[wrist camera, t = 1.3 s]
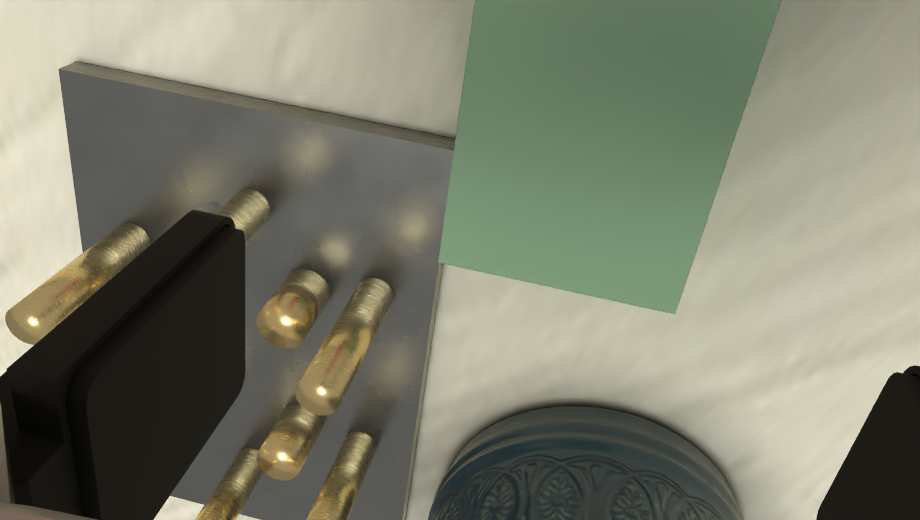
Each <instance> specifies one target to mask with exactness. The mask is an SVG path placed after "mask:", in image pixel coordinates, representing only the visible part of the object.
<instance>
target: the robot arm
mask: <svg viewBox="0 0 920 520" xmlns="http://www.w3.org/2000/svg"><path fill="white" fill-rule="evenodd" d="M245 371H246V364H245V235H244V232H243V231H242V230H240V229H236V228H235V224H234V221H233V220H232V219H231V218H230V217H226V216H221V215H217V214H212V213H207V212H203V211H198V210H192V211H190V212H188V213H187V214H186V215H185V216H183V217H182V218H181V219H180V220H179V221H178V222H177V223H175V224H174V225H173V226H172V227H171V228H170V229H168V230H167V231H166V232H165V233H164V234H163V235H161V236H160V237H159V238H158V239H157V240H156V241H155V242H153V243H152V244H151V245H150V246H149V247H148V248H146V249H145V250H144V251H143V252H142V253H141V254H139V255H138V256H137V257H136V258H135V259H134V260H132V261H131V262H130V263H129V264H128V265H127V266H126V267H124V268H123V269H122V270H121V271H120V272H119V273H117V274H116V275H115V276H114V277H113V278H112V279H110V280H109V281H108V282H107V283H106V284H105V285H103V286H102V287H101V288H100V289H99V290H98V291H97V292H95V293H94V294H93V295H92V296H91V297H90V298H88V299H87V300H86V301H85V302H84V303H83V304H81V305H80V306H79V307H78V308H77V309H76V310H75V311H73V312H72V313H71V314H70V315H69V316H68V317H66V318H65V319H64V320H63V321H62V322H61V323H59V324H58V325H57V326H56V327H55V328H54V329H52V330H51V331H50V332H49V333H48V334H47V335H46V336H44V337H43V338H42V339H41V340H40V341H39V342H37V343H36V344H35V345H34V346H33V347H32V348H30V349H29V350H28V351H27V352H26V353H25V354H24V355H22V356H21V357H20V358H19V359H18V360H17V361H15V362H14V363H13V364H12V365H11V366H10V367H8V368H7V371H6V372H5V373H4V374H3V375H2V376H1V377H0V520H153V519H154V518H155V516H156V515H157V513H158V512H159V511H160V509H161V508H162V506H163V505H164V503H165V502H166V500H167V499H168V497H169V496H170V495H171V493H172V492H173V490H174V489H175V487H176V486H177V484H178V483H179V481H180V480H181V479H182V477H183V476H184V474H185V473H186V471H187V470H188V468H189V467H190V465H191V464H192V463H193V461H194V460H195V458H196V457H197V455H198V454H199V452H200V451H201V449H202V448H203V447H204V445H205V444H206V442H207V441H208V439H209V438H210V436H211V435H212V433H213V432H214V431H215V429H216V428H217V426H218V425H219V423H220V422H221V420H222V419H223V418H224V416H225V415H226V413H227V412H228V410H229V409H230V407H231V406H232V404H233V403H234V402H235V400H236V399H237V397H238V395H239V394H240V392H241V389H242V387H243V383H244V379H245ZM817 520H920V366H911V367H909V368H908V369H907V370H905V371H904V373H898V372H897V373H894V374H892V375H891V376H890V377H889V379H888V380H887V382H886V384H885V386H884V388H883V389H882V391H881V393H880V395H879V397H878V399H877V401H876V403H875V404H874V406H873V408H872V410H871V412H870V414H869V416H868V418H867V419H866V421H865V423H864V425H863V427H862V429H861V431H860V432H859V434H858V436H857V438H856V440H855V442H854V444H853V446H852V447H851V449H850V451H849V453H848V455H847V457H846V459H845V461H844V462H843V464H842V466H841V468H840V470H839V472H838V474H837V476H836V477H835V479H834V481H833V483H832V485H831V487H830V489H829V491H828V492H827V494H826V496H825V498H824V500H823V502H822V504H821V505H820V508H819V510H818V514H817Z"/></svg>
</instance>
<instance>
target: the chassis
mask: <svg viewBox="0 0 920 520" xmlns="http://www.w3.org/2000/svg"><path fill="white" fill-rule="evenodd" d="M59 75H60V82H61V90H62V98H63V105H64V113H65V120H66V128H67V136H68V143H69V151H70V158H71V166H72V174H73V181H74V189H75V196H76V204H77V212H78V219H79V227H80V234H81V242H82V249H83V253H82V254H81V255H80V256H79V257H77V258H76V259H75V260H73V261H72V262H71V263H69V264H68V265H67V266H66V267H64V268H63V269H62V270H60V271H59V272H58V273H56V274H55V275H54V276H52V277H51V278H50V279H49V280H47V281H46V282H45V283H43V284H42V285H41V286H39V287H38V288H37V289H36V290H34V291H33V292H32V293H30V294H29V295H28V296H26V297H25V298H24V299H23V300H21V301H20V302H19V303H17V304H16V305H15V306H13V307H12V308H11V309H10V310H8V312H7V313H6V317H5V319H6V324H7V326H8V328H9V330H10V331H11V332H12V334H13V335H14V336H16V337H17V338H18V339H20V340H21V341H23V342H25V343H28V344H33V345H35V344H36V343H37V342H39V341H40V340H41V339H42V338H43V337H44V336H46V335H47V334H48V333H49V332H50V331H51V330H52V329H54V328H55V327H56V326H57V325H58V324H59V323H61V322H62V321H63V320H64V319H65V318H66V317H68V316H69V315H70V314H71V313H72V312H73V311H75V310H76V309H77V308H78V307H79V306H80V305H81V304H83V303H84V302H85V301H86V300H87V299H88V298H90V297H91V296H92V295H93V294H94V293H95V292H97V291H98V290H99V289H100V288H101V287H102V286H103V285H105V284H106V283H107V282H108V281H109V280H110V279H112V278H113V277H114V276H115V275H116V274H117V273H119V272H120V271H121V270H122V269H123V268H124V267H126V266H127V265H128V264H129V263H130V262H131V261H132V260H134V259H135V258H136V257H137V256H138V255H139V254H141V253H142V252H143V251H144V250H145V249H146V248H148V247H149V246H150V245H151V244H152V243H153V242H155V241H156V240H157V239H158V238H159V237H160V236H161V235H163V234H164V233H165V232H166V231H167V230H168V229H170V228H171V227H172V226H173V225H174V224H175V223H177V222H178V221H179V220H180V219H181V218H182V217H183V216H185V215H186V214H187V213H188V212H190V211H192V210H198V211H203V212H207V213H212V214H217V215H221V216H226V217H230V218H231V219H232V220H233V221H234V224H235V228H236V229H240V230H242V231H243V232H244V235H245V364H246V371H245V379H244V383H243V387H242V389H241V392H240V394H239V395H238V397H237V399H236V400H235V402H234V403H233V404H232V406H231V407H230V409H229V410H228V412H227V413H226V415H225V416H224V418H223V419H222V420H221V422H220V423H219V425H218V426H217V428H216V429H215V431H214V432H213V433H212V435H211V436H210V438H209V439H208V441H207V442H206V444H205V445H204V447H203V448H202V449H201V451H200V452H199V454H198V455H197V457H196V458H195V460H194V461H193V463H192V464H191V465H190V467H189V468H188V470H187V471H186V473H185V474H184V476H183V477H182V479H181V480H180V481H179V483H178V484H177V486H176V487H175V489H174V490H173V492H172V493H171V495H170V496H173V497H177V498H181V499H185V500H189V501H192V502H196V503H200V504H204V507H203V508H202V510H201V512H200V513H199V515H198V516H197V518H196V519H195V520H236V519H237V517H238V516H239V514H242V515H246V516H249V517H253V518H257V519H261V520H405V519H406V512H407V505H408V499H409V492H410V485H411V478H412V471H413V465H414V458H415V451H416V444H417V437H418V431H419V424H420V417H421V410H422V403H423V397H424V390H425V383H426V376H427V370H428V363H429V356H430V349H431V342H432V336H433V329H434V322H435V315H436V308H437V302H438V295H439V288H440V281H441V274H442V268H443V263H439V262H438V261H439V254H440V247H441V239H442V232H443V225H444V218H445V211H446V204H447V197H448V189H449V182H450V175H451V168H452V161H453V154H454V147H455V139H452V138H448V137H443V136H438V135H433V134H428V133H423V132H418V131H413V130H409V129H404V128H399V127H394V126H389V125H384V124H379V123H374V122H370V121H365V120H360V119H355V118H350V117H345V116H340V115H335V114H331V113H326V112H321V111H316V110H311V109H306V108H301V107H296V106H292V105H287V104H282V103H277V102H272V101H267V100H262V99H257V98H253V97H248V96H243V95H238V94H233V93H228V92H223V91H218V90H214V89H209V88H204V87H199V86H194V85H189V84H184V83H179V82H175V81H170V80H165V79H160V78H155V77H150V76H145V75H140V74H136V73H131V72H126V71H121V70H116V69H111V68H106V67H101V66H97V65H92V64H87V63H82V62H74V63H72V64H70V65H67V66H65V67H62V68H60V69H59Z"/></svg>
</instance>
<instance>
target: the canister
mask: <svg viewBox="0 0 920 520" xmlns="http://www.w3.org/2000/svg"><path fill="white" fill-rule="evenodd" d="M428 520H744V517H743V515H742V513H741V511H740V509H739V507H738V505H737V503H736V501H735V498H734V496H733V493H732V491H731V489H730V487H729V485H728V483H727V481H726V480H725V478H724V477H723V475H722V474H721V472H720V471H719V470H718V469H717V467H716V466H715V465H714V464H713V463H712V462H711V461H710V460H709V459H708V457H706V456H705V455H704V454H703V453H702V452H701V451H700V450H699V449H697V448H696V447H695V446H694V445H692V444H691V443H690V442H688V441H687V440H685V439H684V438H682V437H681V436H679V435H677V434H676V433H674V432H672V431H671V430H669V429H667V428H665V427H663V426H661V425H658V424H656V423H654V422H651V421H649V420H646V419H643V418H640V417H638V416H635V415H631V414H627V413H624V412H619V411H615V410H610V409H603V408H596V407H585V406H562V407H550V408H543V409H537V410H532V411H528V412H524V413H521V414H517V415H514V416H511V417H509V418H506V419H504V420H502V421H500V422H498V423H495V424H493V425H492V426H490V427H488V428H487V429H485V430H484V431H482V432H481V433H479V434H478V435H477V436H475V437H474V438H473V439H472V440H471V441H470V442H469V443H468V444H467V445H466V446H465V447H464V448H463V449H462V450H461V452H460V453H459V454H458V456H457V457H456V459H455V460H454V462H453V464H452V466H451V468H450V469H449V470H448V472H447V473H446V474H445V476H444V478H443V479H442V481H441V483H440V485H439V487H438V489H437V492H436V494H435V497H434V501H433V504H432V507H431V510H430V513H429V517H428Z"/></svg>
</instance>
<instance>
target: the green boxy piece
mask: <svg viewBox="0 0 920 520" xmlns="http://www.w3.org/2000/svg"><path fill="white" fill-rule="evenodd" d="M780 2H781V0H475V4H474V11H473V18H472V25H471V32H470V39H469V47H468V54H467V61H466V68H465V75H464V82H463V89H462V97H461V104H460V111H459V118H458V125H457V132H456V139H455V147H454V154H453V161H452V168H451V175H450V182H449V189H448V197H447V204H446V211H445V218H444V225H443V232H442V239H441V247H440V254H439V261H438V262H439V263H443V264H448V265H452V266H457V267H462V268H466V269H471V270H475V271H480V272H484V273H489V274H494V275H498V276H503V277H507V278H512V279H516V280H521V281H525V282H530V283H535V284H539V285H544V286H548V287H553V288H557V289H562V290H567V291H571V292H576V293H580V294H585V295H589V296H594V297H598V298H603V299H608V300H612V301H617V302H621V303H626V304H630V305H635V306H640V307H644V308H649V309H653V310H658V311H662V312H667V313H672V314H675V313H676V310H677V307H678V304H679V301H680V298H681V295H682V292H683V289H684V286H685V283H686V280H687V277H688V274H689V271H690V269H691V266H692V263H693V260H694V257H695V254H696V251H697V248H698V245H699V242H700V239H701V236H702V233H703V230H704V227H705V224H706V221H707V218H708V215H709V212H710V209H711V206H712V203H713V200H714V198H715V195H716V192H717V189H718V186H719V183H720V180H721V177H722V174H723V171H724V168H725V165H726V162H727V159H728V156H729V153H730V150H731V147H732V144H733V141H734V138H735V135H736V132H737V129H738V126H739V124H740V121H741V118H742V115H743V112H744V109H745V106H746V103H747V100H748V97H749V94H750V91H751V88H752V85H753V82H754V79H755V76H756V73H757V70H758V67H759V64H760V61H761V58H762V55H763V52H764V50H765V47H766V44H767V41H768V38H769V35H770V32H771V29H772V26H773V23H774V20H775V17H776V14H777V11H778V8H779V5H780Z"/></svg>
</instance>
